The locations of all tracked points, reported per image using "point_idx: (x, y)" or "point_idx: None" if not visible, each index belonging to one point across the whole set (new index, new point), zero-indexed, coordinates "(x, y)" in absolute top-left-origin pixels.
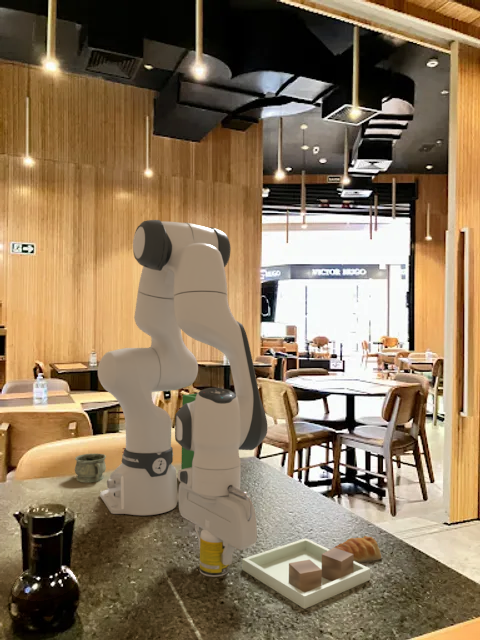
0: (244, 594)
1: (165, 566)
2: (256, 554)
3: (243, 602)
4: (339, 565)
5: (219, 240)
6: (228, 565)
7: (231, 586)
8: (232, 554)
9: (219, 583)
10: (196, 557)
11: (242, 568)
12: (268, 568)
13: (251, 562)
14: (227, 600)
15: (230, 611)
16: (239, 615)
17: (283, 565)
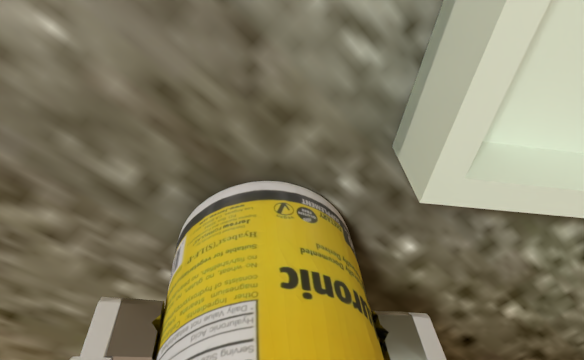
0: (520, 265)
1: (48, 346)
2: (479, 72)
3: (544, 299)
4: None
5: None
6: (353, 252)
7: (429, 263)
8: (444, 356)
9: (364, 281)
10: (22, 207)
11: (403, 163)
12: (559, 16)
13: (509, 196)
14: (478, 325)
15: (526, 350)
16: (567, 345)
17: None
